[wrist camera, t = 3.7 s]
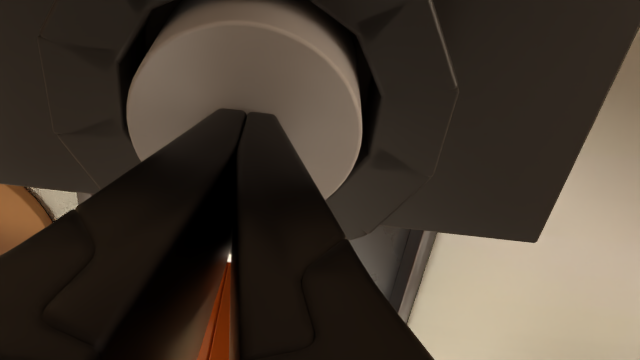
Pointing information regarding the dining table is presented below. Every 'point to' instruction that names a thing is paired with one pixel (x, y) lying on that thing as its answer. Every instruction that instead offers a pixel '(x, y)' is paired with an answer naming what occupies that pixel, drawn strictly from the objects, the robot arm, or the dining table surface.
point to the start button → (253, 79)
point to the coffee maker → (375, 93)
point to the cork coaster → (19, 216)
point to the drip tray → (388, 261)
